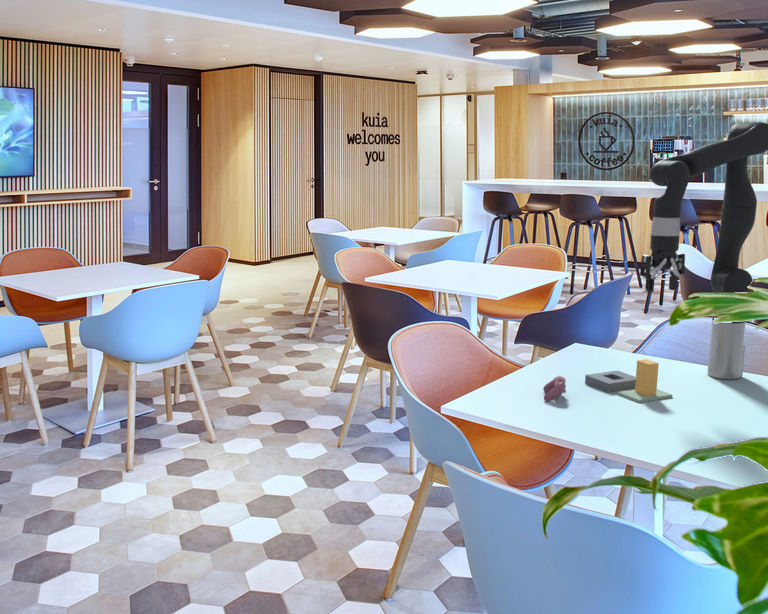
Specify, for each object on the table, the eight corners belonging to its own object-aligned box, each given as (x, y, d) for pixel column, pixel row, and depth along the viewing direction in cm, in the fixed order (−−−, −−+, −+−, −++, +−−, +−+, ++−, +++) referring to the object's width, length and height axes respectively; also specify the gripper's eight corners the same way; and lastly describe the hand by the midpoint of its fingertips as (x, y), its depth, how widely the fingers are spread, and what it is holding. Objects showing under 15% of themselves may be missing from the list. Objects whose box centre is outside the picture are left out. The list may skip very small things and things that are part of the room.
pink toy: (557, 408, 212) (570, 386, 210) (542, 399, 212) (555, 378, 211) (556, 397, 221) (568, 376, 220) (541, 389, 222) (554, 368, 220)
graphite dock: (616, 378, 235) (617, 370, 235) (640, 387, 226) (641, 378, 226) (585, 383, 230) (585, 374, 230) (608, 392, 221) (608, 383, 221)
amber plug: (644, 390, 221) (646, 359, 219) (656, 394, 216) (658, 363, 215) (634, 391, 219) (637, 360, 217) (646, 396, 215) (649, 364, 213)
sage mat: (651, 389, 224) (651, 386, 224) (672, 397, 217) (672, 394, 217) (618, 394, 219) (618, 391, 219) (638, 402, 212) (639, 399, 212)
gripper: (674, 231, 225) (669, 287, 228) (636, 233, 219) (632, 290, 222) (694, 233, 218) (689, 291, 222) (655, 235, 212) (651, 294, 216)
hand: (661, 290), depth 222 cm, fingers open, 8 cm apart
